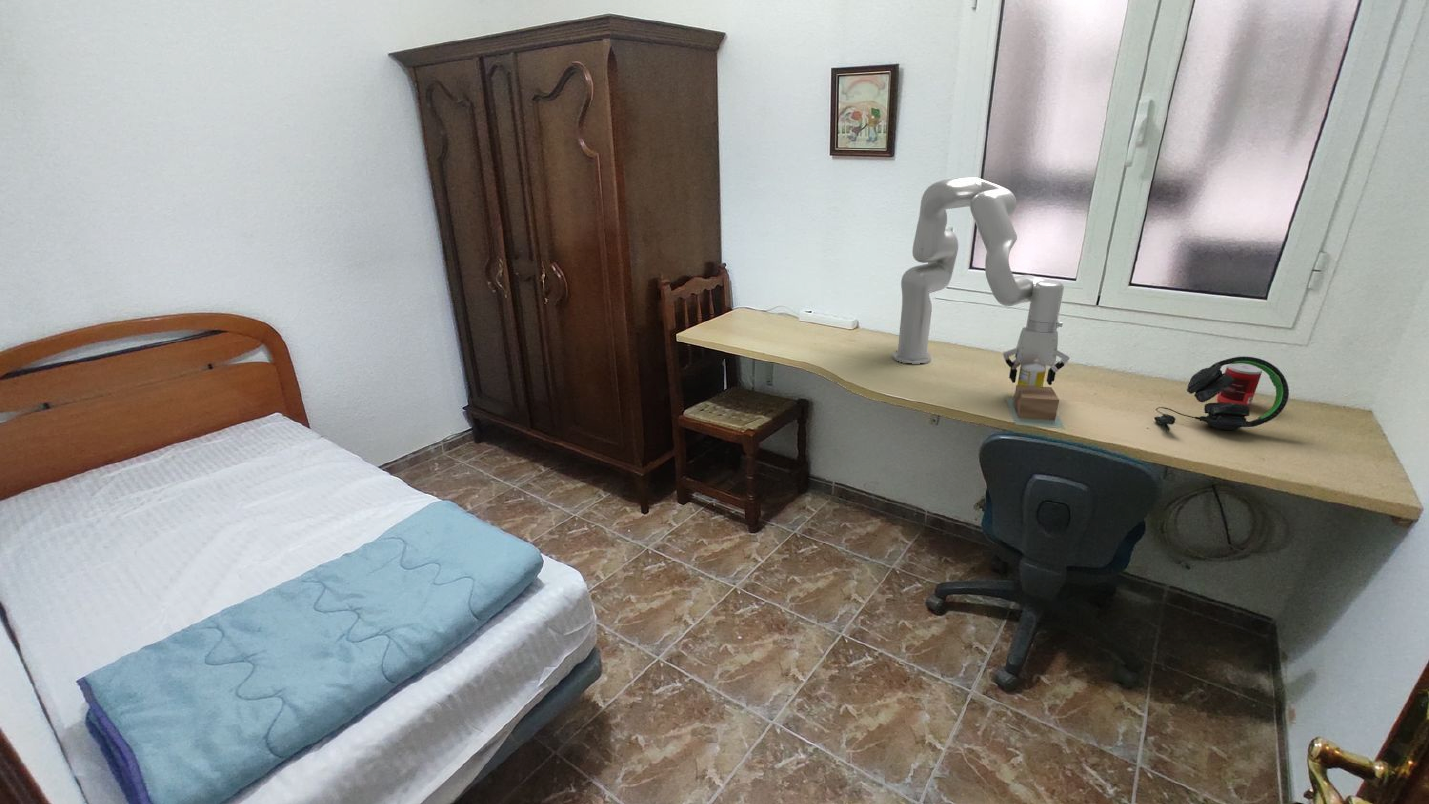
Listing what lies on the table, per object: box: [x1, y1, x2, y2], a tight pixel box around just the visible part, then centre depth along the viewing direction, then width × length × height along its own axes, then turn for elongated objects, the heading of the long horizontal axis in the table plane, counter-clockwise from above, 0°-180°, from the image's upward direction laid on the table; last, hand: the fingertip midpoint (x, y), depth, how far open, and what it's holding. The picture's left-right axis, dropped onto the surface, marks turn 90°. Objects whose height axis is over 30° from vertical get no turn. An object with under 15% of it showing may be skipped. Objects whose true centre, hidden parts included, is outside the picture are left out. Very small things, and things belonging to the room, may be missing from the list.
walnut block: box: [1013, 384, 1060, 421], centre depth 175 cm, size 9×9×6 cm
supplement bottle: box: [1016, 359, 1047, 387], centre depth 185 cm, size 7×7×13 cm
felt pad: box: [1004, 397, 1066, 429], centre depth 176 cm, size 18×12×1 cm, turn 166°
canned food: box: [1216, 363, 1263, 408], centre depth 177 cm, size 8×8×11 cm
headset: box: [1153, 356, 1290, 432], centre depth 163 cm, size 18×14×29 cm
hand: (1030, 382), depth 186 cm, fingers open, 9 cm apart
